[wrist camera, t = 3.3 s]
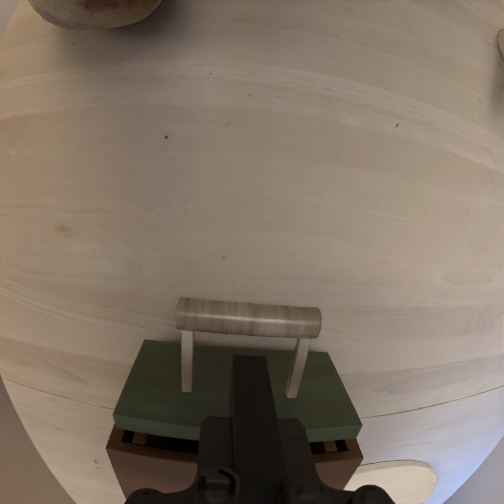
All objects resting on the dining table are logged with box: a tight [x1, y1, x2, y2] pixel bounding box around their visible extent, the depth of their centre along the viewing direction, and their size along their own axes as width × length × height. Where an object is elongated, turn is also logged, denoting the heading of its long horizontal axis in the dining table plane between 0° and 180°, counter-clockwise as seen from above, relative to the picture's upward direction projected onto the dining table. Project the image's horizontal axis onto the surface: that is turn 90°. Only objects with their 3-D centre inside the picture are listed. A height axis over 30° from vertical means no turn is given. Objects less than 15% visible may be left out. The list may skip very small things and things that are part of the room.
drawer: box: [113, 297, 362, 454], centre depth 18 cm, size 20×13×8 cm, turn 174°
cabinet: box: [106, 424, 363, 500], centre depth 20 cm, size 16×15×10 cm
